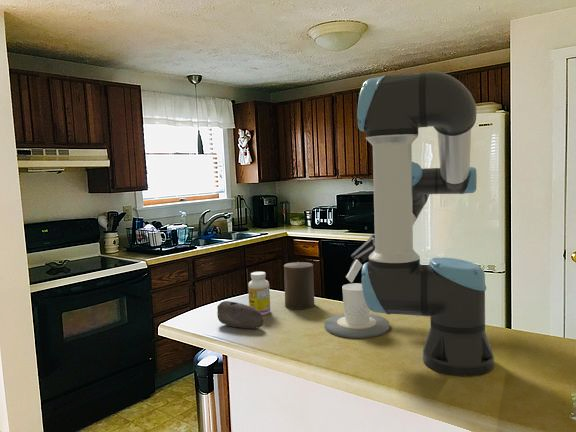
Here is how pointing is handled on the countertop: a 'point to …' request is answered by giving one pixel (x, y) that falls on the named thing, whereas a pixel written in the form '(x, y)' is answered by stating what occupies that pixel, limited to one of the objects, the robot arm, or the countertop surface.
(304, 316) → the countertop surface
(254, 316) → the perforated stone tool
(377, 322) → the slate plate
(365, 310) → the white cup
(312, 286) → the pillar candle
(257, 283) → the supplement bottle
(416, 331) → the countertop surface
